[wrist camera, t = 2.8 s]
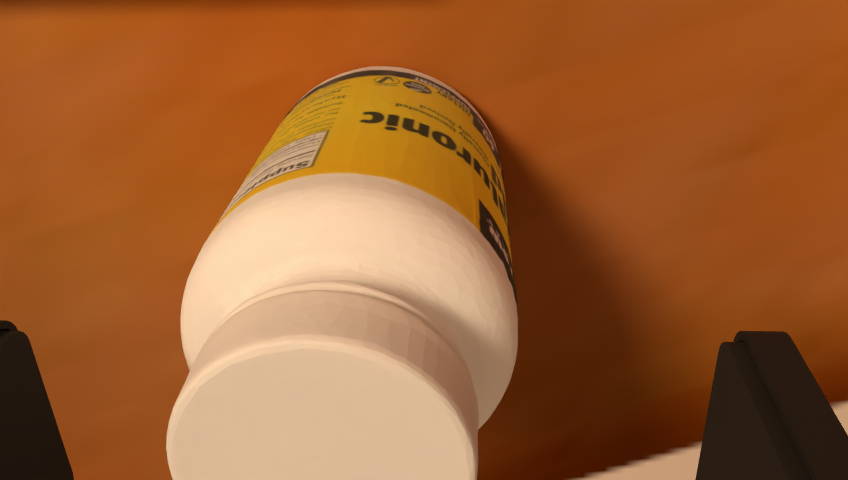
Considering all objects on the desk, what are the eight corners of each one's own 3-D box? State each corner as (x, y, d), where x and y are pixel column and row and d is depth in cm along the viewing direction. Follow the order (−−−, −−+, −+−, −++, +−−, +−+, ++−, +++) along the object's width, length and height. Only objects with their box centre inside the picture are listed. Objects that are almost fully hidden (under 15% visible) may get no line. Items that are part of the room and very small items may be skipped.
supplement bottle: (549, 190, 19) (620, 511, 10) (374, 307, 20) (307, 665, 12) (402, 6, 17) (333, 204, 8) (225, 152, 19) (14, 442, 10)
